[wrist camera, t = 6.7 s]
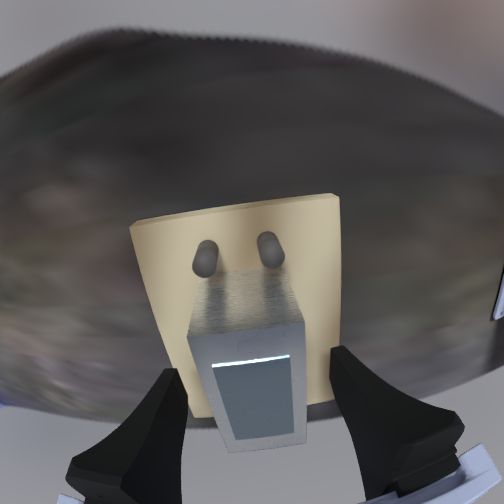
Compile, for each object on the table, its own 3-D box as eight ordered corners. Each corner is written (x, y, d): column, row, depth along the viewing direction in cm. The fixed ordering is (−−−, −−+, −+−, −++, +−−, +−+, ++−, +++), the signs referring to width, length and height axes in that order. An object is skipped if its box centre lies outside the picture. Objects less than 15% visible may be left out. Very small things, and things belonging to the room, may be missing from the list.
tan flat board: (330, 193, 14) (355, 206, 11) (330, 387, 19) (341, 419, 16) (136, 220, 14) (113, 240, 11) (196, 405, 19) (192, 439, 16)
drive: (282, 264, 14) (305, 323, 9) (291, 379, 17) (306, 443, 12) (200, 275, 14) (186, 338, 9) (228, 387, 17) (228, 453, 12)
